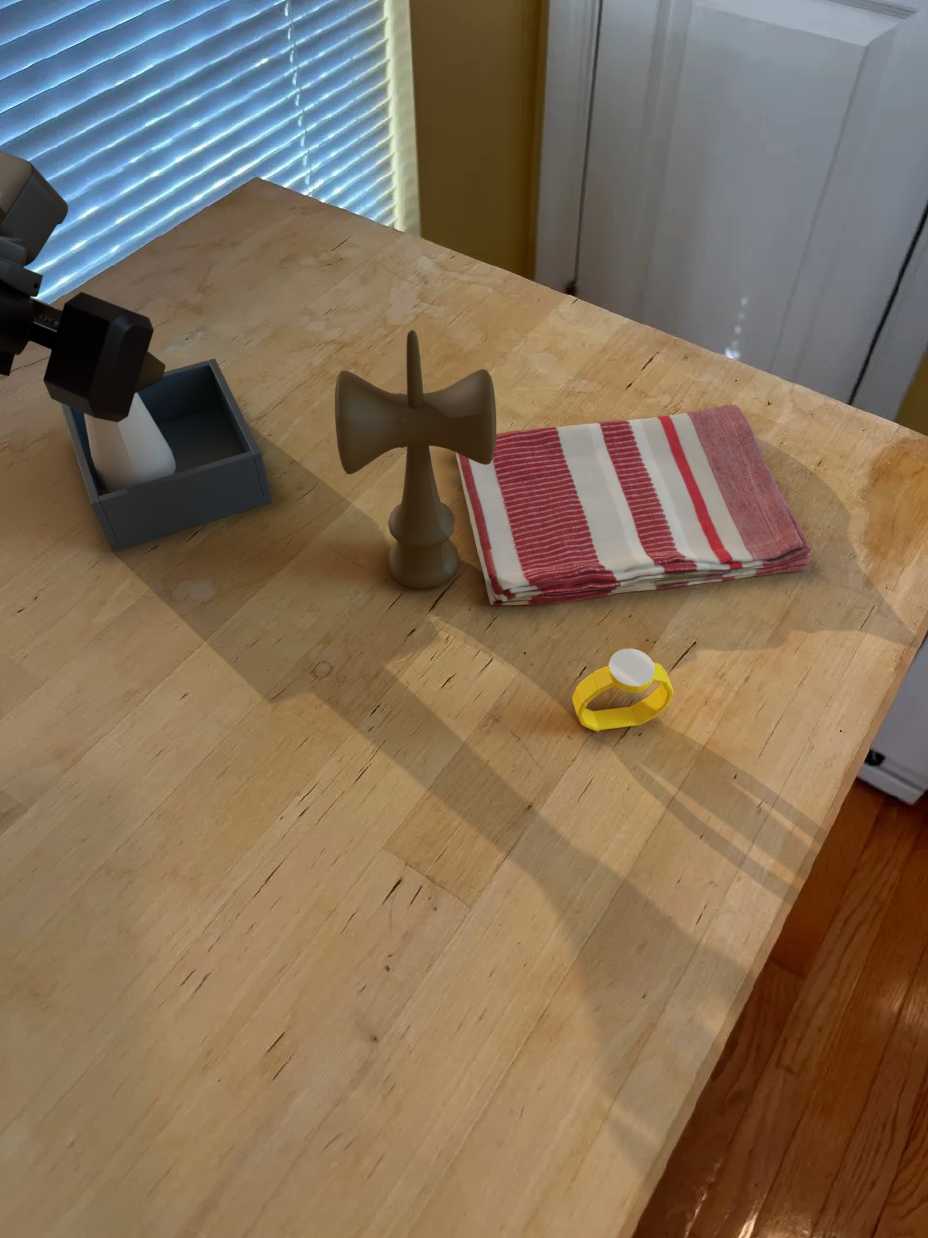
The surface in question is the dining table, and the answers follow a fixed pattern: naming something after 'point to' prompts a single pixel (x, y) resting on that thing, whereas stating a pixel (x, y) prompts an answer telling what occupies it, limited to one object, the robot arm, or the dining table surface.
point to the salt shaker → (128, 449)
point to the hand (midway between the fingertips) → (109, 350)
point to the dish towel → (628, 508)
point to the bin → (181, 461)
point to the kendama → (417, 456)
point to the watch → (628, 675)
